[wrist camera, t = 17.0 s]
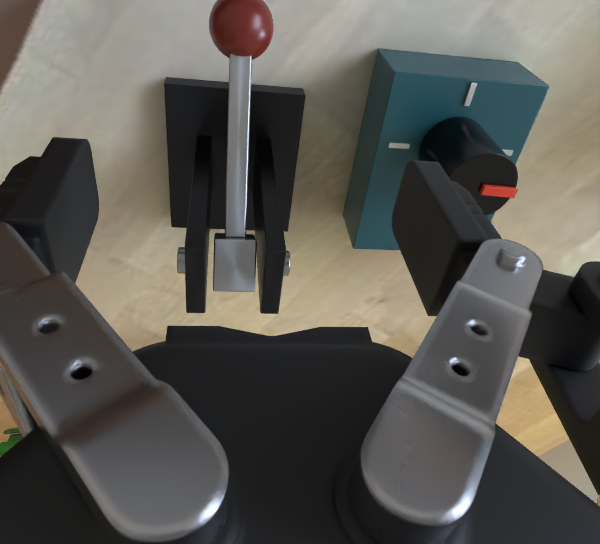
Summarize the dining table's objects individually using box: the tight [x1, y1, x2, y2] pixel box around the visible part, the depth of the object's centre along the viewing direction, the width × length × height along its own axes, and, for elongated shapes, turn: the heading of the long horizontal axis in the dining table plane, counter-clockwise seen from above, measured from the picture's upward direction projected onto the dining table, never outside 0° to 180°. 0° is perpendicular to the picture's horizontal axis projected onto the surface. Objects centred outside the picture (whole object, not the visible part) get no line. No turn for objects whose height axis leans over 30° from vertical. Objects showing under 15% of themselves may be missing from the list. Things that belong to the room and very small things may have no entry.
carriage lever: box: [209, 0, 273, 292], centre depth 26 cm, size 15×3×3 cm, turn 173°
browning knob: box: [419, 117, 518, 216], centre depth 31 cm, size 4×4×5 cm
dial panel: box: [343, 49, 549, 250], centre depth 36 cm, size 13×10×5 cm
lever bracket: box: [164, 77, 305, 314], centre depth 31 cm, size 11×9×14 cm
